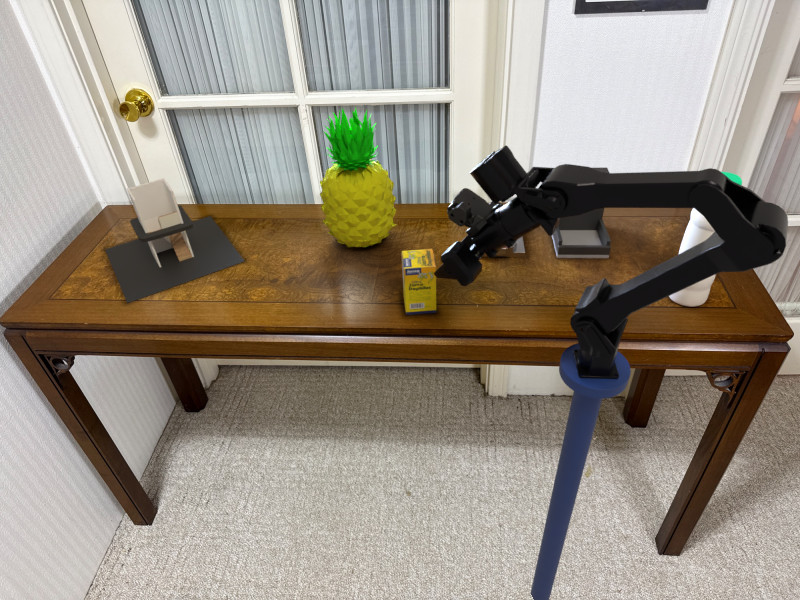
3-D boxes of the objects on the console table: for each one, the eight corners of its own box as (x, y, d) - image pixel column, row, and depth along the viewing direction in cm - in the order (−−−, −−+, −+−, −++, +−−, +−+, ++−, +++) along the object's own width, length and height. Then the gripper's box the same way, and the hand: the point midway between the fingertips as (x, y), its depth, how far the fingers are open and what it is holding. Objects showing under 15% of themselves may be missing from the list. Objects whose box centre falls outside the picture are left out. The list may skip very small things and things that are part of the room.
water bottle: (704, 288, 109) (748, 169, 94) (707, 311, 104) (754, 188, 88) (665, 282, 111) (702, 164, 96) (666, 304, 106) (704, 183, 90)
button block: (525, 260, 119) (526, 248, 117) (477, 260, 120) (478, 248, 118) (517, 214, 134) (518, 202, 132) (475, 214, 135) (475, 203, 133)
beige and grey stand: (127, 303, 114) (96, 234, 104) (104, 249, 131) (76, 185, 120) (244, 261, 124) (227, 194, 114) (210, 216, 140) (192, 154, 130)
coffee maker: (608, 258, 118) (621, 198, 110) (557, 258, 119) (566, 199, 111) (596, 224, 129) (607, 167, 120) (548, 223, 130) (556, 167, 121)
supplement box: (437, 313, 107) (436, 266, 100) (405, 315, 107) (403, 268, 100) (433, 294, 112) (432, 247, 105) (403, 296, 112) (400, 250, 105)
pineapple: (320, 260, 123) (298, 126, 104) (329, 220, 136) (311, 95, 117) (396, 258, 122) (388, 123, 103) (399, 218, 135) (391, 92, 116)
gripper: (502, 157, 93) (442, 202, 104) (453, 208, 81) (391, 253, 92) (543, 209, 95) (479, 248, 106) (501, 267, 82) (434, 304, 94)
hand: (447, 261), depth 99 cm, fingers open, 9 cm apart
